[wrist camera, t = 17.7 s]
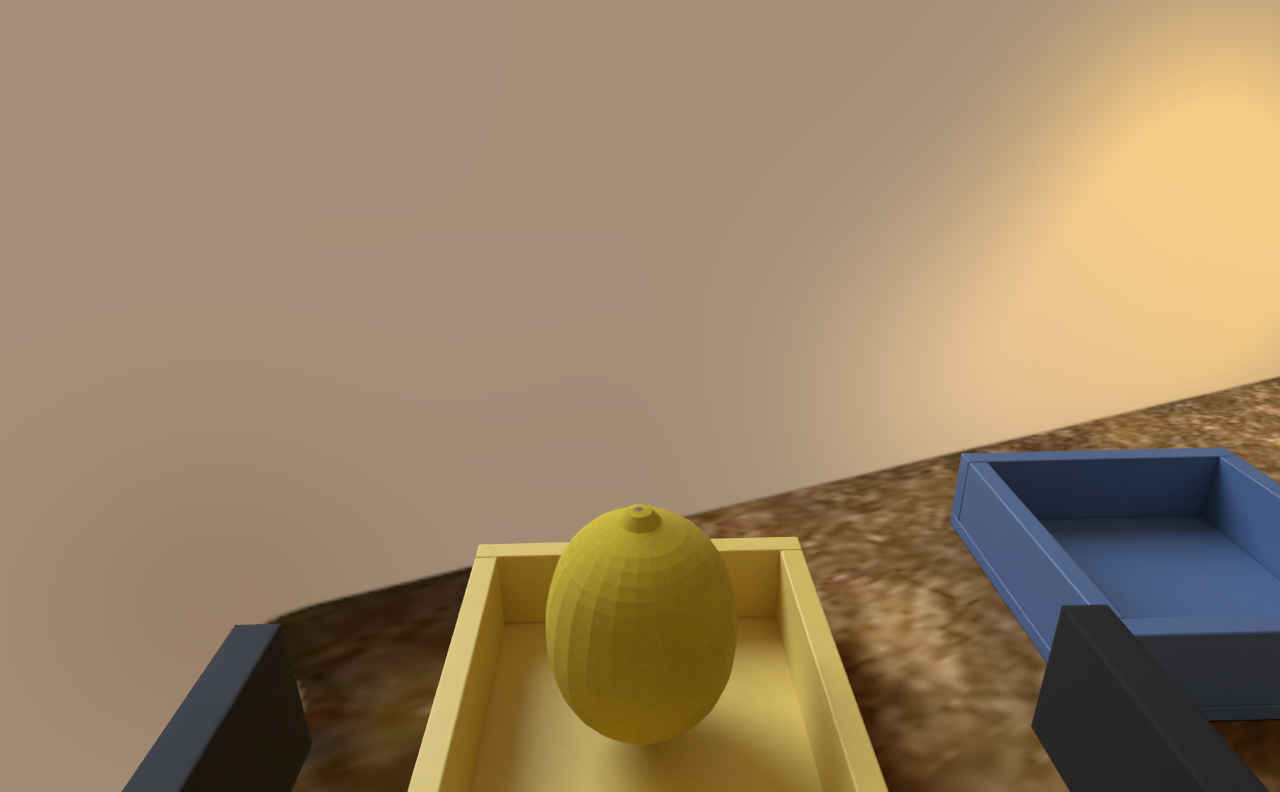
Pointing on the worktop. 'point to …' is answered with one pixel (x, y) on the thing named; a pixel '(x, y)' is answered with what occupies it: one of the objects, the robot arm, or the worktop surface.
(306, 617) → the worktop surface
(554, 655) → the lemon
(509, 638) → the yellow bin
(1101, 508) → the blue bin
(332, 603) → the worktop surface
